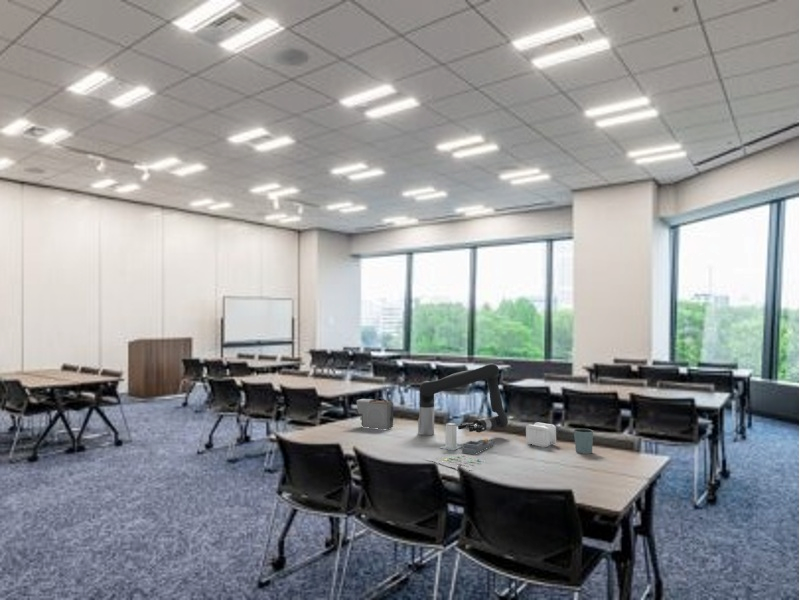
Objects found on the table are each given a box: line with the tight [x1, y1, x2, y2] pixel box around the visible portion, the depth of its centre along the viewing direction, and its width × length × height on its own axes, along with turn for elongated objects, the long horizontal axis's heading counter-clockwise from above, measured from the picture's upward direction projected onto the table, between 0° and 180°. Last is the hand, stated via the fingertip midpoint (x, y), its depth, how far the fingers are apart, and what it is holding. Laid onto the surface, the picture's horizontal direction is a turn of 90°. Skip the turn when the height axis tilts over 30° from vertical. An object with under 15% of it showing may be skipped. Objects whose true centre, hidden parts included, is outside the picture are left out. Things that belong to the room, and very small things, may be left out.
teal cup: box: [573, 428, 594, 455], centre depth 298 cm, size 10×10×12 cm
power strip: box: [461, 438, 494, 455], centre depth 307 cm, size 8×30×4 cm, turn 147°
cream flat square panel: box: [443, 455, 485, 467], centre depth 279 cm, size 30×30×2 cm
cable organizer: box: [525, 421, 557, 448], centre depth 315 cm, size 15×11×12 cm
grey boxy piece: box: [356, 384, 394, 430], centre depth 364 cm, size 12×24×30 cm, turn 67°
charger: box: [445, 422, 457, 448], centre depth 307 cm, size 4×4×13 cm
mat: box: [439, 444, 463, 451], centre depth 307 cm, size 9×9×1 cm
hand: (464, 428), depth 315 cm, fingers open, 8 cm apart
